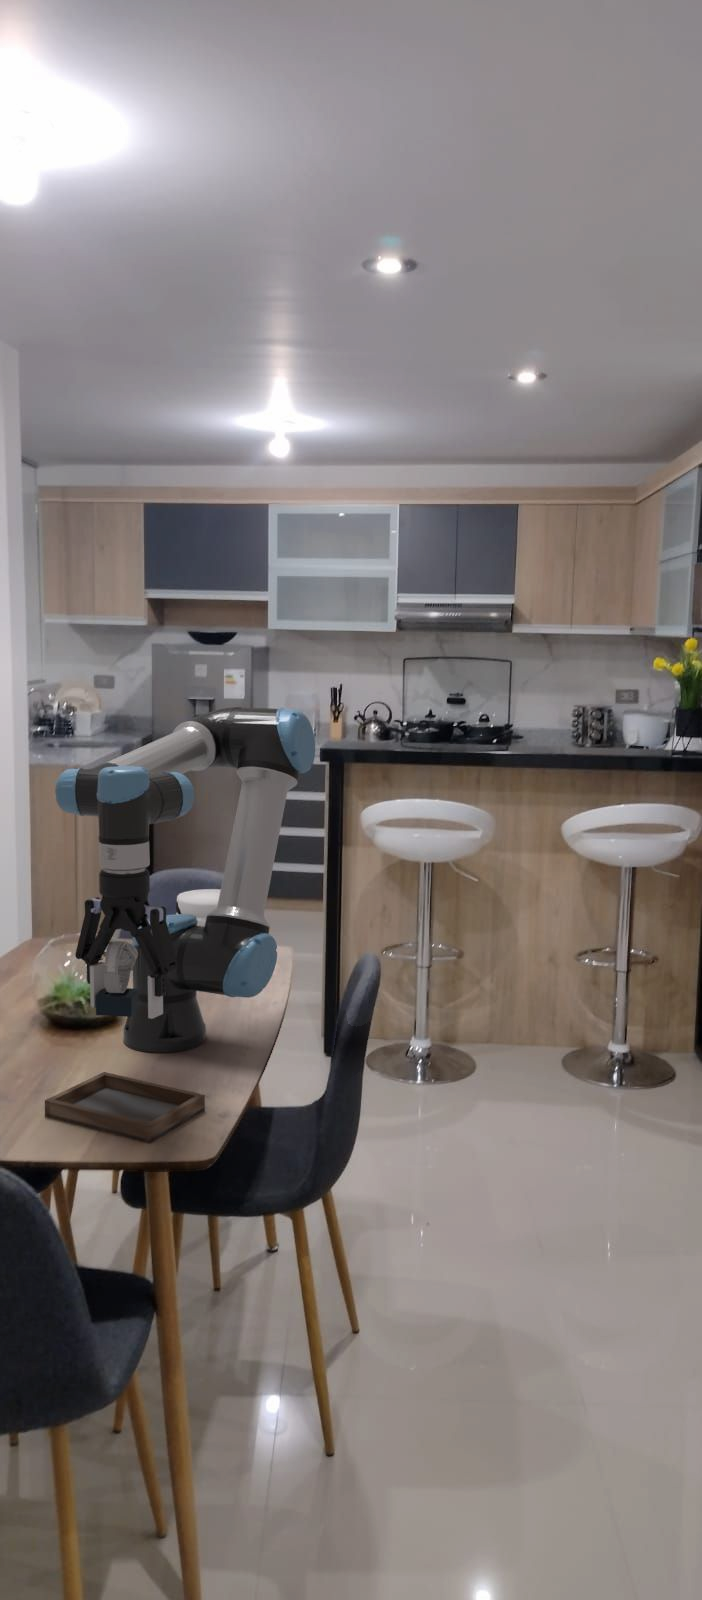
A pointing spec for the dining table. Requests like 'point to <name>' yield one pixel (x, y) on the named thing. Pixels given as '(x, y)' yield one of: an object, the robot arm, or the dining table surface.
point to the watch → (118, 981)
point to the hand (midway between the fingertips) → (126, 1010)
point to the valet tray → (125, 1106)
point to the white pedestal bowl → (198, 903)
